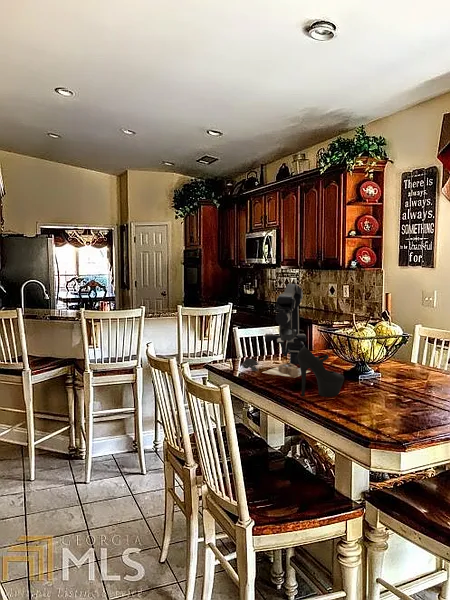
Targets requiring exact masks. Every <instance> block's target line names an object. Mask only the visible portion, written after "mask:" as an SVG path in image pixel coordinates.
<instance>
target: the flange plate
mask: <svg viewBox="0 0 450 600" xmlns="http://www.w3.org/2000/svg"><path fill="white" fill-rule="evenodd" d="M283 365H290V367H285V366H283ZM277 367H278V371H280V372H281V373H283V374H289V375H291V376H292V377H291V378H294V377H296V378H298V377H299V376H298V370H297V369H298V366H297V365H296V364H291V363H283V364H282V363H281V364H278V366H277Z"/></svg>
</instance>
